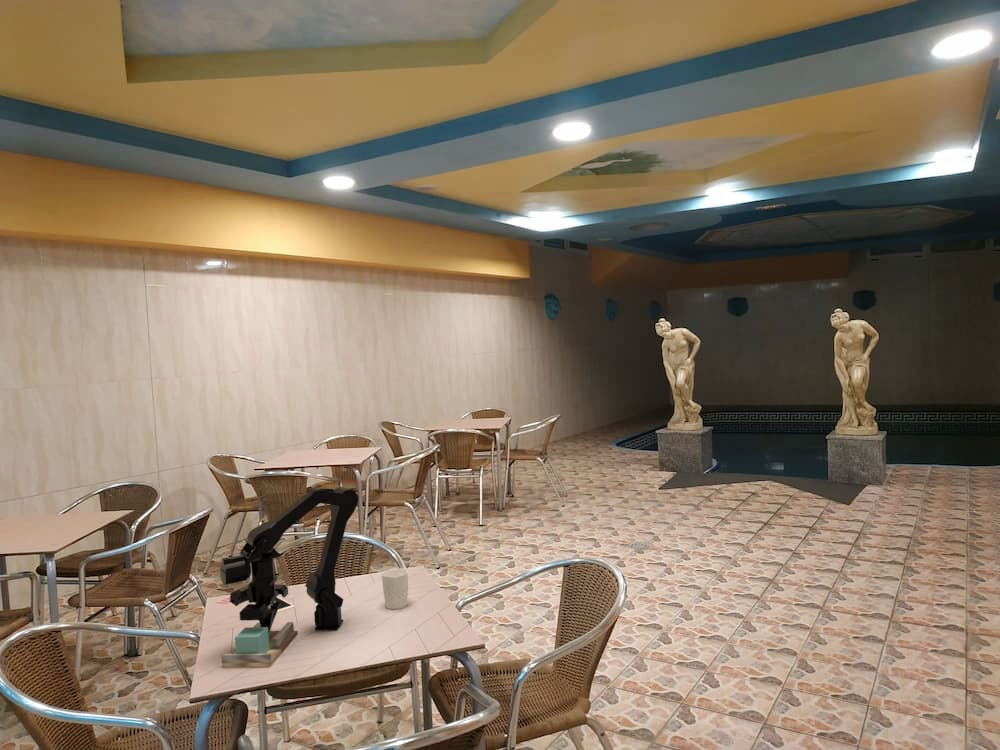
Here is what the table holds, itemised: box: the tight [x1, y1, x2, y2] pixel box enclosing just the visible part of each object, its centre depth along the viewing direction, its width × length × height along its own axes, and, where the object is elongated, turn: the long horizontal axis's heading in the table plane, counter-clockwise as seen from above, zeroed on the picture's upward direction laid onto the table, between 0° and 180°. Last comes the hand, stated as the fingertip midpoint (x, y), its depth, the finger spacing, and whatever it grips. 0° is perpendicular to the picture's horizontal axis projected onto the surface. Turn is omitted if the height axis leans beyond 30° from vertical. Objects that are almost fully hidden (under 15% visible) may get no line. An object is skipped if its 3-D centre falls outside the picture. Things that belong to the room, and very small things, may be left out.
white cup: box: [381, 567, 409, 610], centre depth 211 cm, size 8×8×10 cm
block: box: [234, 626, 269, 654], centre depth 178 cm, size 6×6×6 cm
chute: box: [221, 621, 299, 668], centre depth 183 cm, size 12×19×3 cm, turn 176°
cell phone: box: [253, 596, 296, 613], centre depth 217 cm, size 8×16×1 cm, turn 43°
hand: (266, 633), depth 187 cm, fingers closed
